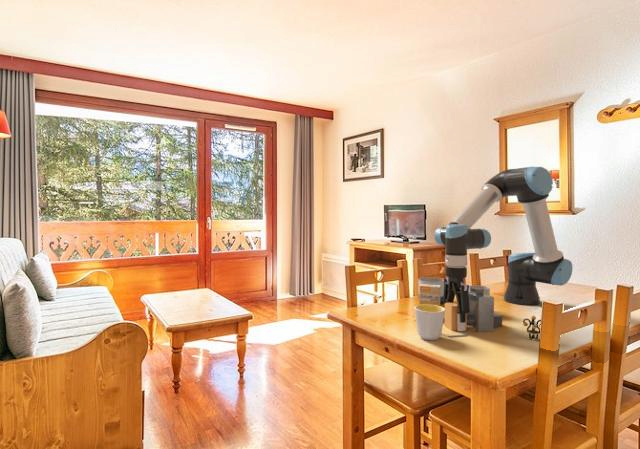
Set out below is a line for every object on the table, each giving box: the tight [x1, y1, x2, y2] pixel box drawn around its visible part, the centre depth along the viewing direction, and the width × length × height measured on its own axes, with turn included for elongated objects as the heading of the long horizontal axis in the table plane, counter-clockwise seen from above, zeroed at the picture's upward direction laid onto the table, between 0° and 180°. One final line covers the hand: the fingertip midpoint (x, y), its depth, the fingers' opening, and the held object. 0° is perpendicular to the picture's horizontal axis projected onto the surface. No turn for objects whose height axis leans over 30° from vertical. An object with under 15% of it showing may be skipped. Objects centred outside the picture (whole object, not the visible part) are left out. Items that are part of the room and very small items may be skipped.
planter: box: [417, 276, 445, 304], centre depth 183 cm, size 13×13×10 cm
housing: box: [467, 287, 495, 333], centre depth 143 cm, size 6×12×14 cm, turn 10°
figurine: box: [522, 315, 542, 342], centre depth 129 cm, size 5×5×8 cm
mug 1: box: [413, 304, 445, 341], centre depth 133 cm, size 14×10×10 cm
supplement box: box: [418, 284, 441, 306], centre depth 157 cm, size 8×5×13 cm, turn 70°
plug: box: [444, 301, 503, 331], centre depth 143 cm, size 21×5×9 cm, turn 100°
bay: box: [443, 320, 468, 338], centre depth 141 cm, size 7×18×1 cm, turn 10°
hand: (455, 327), depth 142 cm, fingers open, 7 cm apart
